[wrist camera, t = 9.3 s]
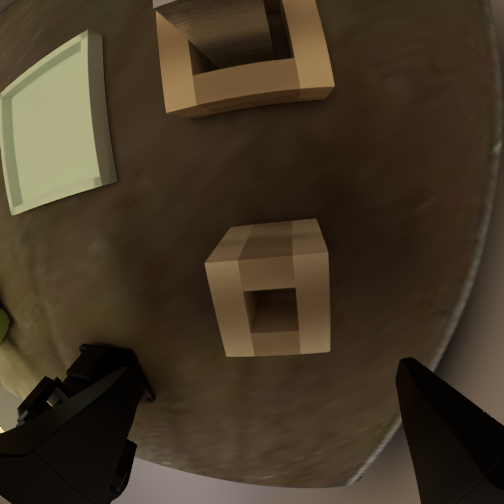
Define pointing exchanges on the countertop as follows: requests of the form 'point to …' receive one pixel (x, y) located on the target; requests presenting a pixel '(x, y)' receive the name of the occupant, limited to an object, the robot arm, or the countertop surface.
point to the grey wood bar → (222, 29)
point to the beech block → (272, 289)
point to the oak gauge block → (247, 68)
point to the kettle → (3, 324)
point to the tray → (57, 126)
